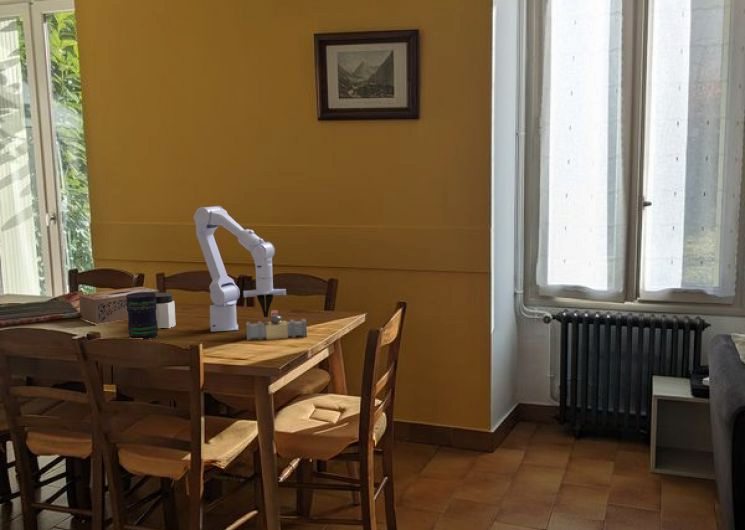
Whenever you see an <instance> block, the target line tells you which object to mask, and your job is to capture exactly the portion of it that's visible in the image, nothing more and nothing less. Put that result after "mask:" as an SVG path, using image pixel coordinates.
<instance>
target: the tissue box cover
mask: <svg viewBox="0 0 745 530" xmlns="http://www.w3.org/2000/svg"><path fill="white" fill-rule="evenodd" d="M137 292H154V293H160V290H158V289H154V288H149V287H144V286H137V287H129V288H122V289H115V290H108V291H101V292H100V291H99V292H92V293H86V294H79V295H78V301H79V314H80V313H81V315H82V318H83V319H85V320H88V321H90V322H93V323H96V324H99V323H105V322H111V321H116V320H123V319H128V312H127V306H126V303H127V302H126V299H127V298H126V295H127V294H131V293H137Z"/></svg>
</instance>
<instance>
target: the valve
mask: <svg viewBox="0 0 745 530" xmlns="http://www.w3.org/2000/svg"><path fill="white" fill-rule="evenodd" d="M245 325H246V341H251V340H263V339H266V340H280V339H279V338H285V339H288V338H291V339H294V337H295V336H298V337H302V338H307V337H308V329H307V320H306V318H301V320H297V321H296V320H295V319H292V318H291V319H290V320H289V321H287V320H282V322H280V323H271V321H265V322H262V321H261V320H258V321H257V323H251V322H250V321H246V324H245ZM295 338H296V337H295Z"/></svg>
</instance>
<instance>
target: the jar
mask: <svg viewBox="0 0 745 530" xmlns="http://www.w3.org/2000/svg"><path fill="white" fill-rule="evenodd" d="M155 297H156V307H157V308H156V320H157V325H158V328H169V329H172V328H174V327H176V305H175V300H174V294H173V293H172V292H159V293H156V296H155ZM171 327H172V328H171Z"/></svg>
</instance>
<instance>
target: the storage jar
mask: <svg viewBox="0 0 745 530" xmlns="http://www.w3.org/2000/svg"><path fill="white" fill-rule="evenodd" d="M155 296H156V293H154V292H137V293H131V294H127V295H126V298H127V299H126V302H127V303H126V306H127V312H128V320H127V332H128V338H129V337H131V338H143V339H149V338H154V337H156V336H158V337H159V334H158V333H159V331H158V330H159V329H158V325H157V320H156V308H157V307H156V297H155ZM157 329H158V330H157ZM154 339H155V338H154Z"/></svg>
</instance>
